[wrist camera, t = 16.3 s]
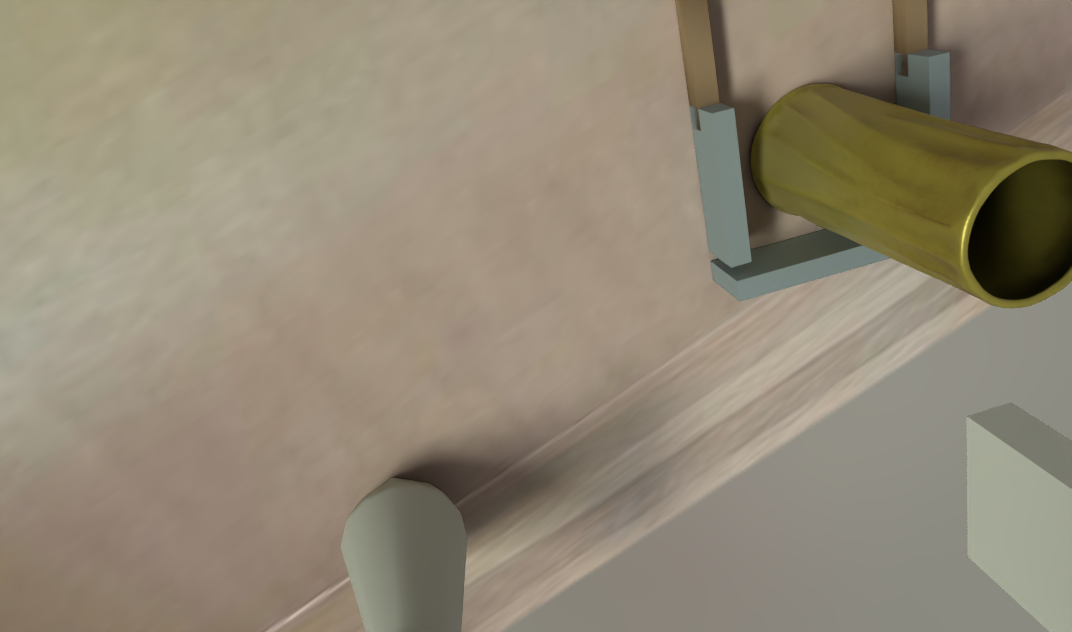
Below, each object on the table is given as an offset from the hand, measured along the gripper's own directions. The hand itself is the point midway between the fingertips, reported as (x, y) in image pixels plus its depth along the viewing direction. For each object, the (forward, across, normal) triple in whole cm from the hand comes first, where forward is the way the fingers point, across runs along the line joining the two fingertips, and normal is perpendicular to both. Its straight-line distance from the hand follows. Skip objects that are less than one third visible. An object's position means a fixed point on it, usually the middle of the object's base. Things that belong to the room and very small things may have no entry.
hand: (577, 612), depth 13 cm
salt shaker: (+27, -5, -15) cm, 31 cm away
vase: (+27, +18, -2) cm, 32 cm away
